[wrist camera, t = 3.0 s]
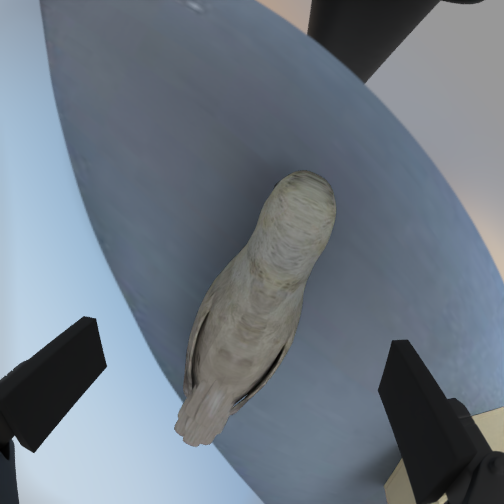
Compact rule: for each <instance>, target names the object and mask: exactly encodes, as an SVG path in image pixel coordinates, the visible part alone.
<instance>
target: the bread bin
mask: <svg viewBox="0 0 504 504" xmlns="http://www.w3.org/2000/svg"><path fill="white" fill-rule="evenodd" d="M472 418H473V419H474V421H475V424H477V426H478V427H479V429H480V431H481V432H482V434H483V436H484V437H485V439H486V441H487V442H488V444H489V446H490V447H491V449H492V450H493V451H501V452H504V407H501V408H498V409H495V410H492V411H488V412H485V413H481V414H478V415H474V416H472ZM384 488H385V493H386V498H387V503H388V504H416V501H415V498H414V494H413V491H412V487H411V484H410V481H409V478H408V475H407V471H406V468H405V465H404V462H403V459H401V460H400V462H399V463H398V465H397V467H396V468H395V470H394V471H393V473H392V474H391V476H390V477H389V479H388V480H387V482H386V483H385V485H384ZM444 495H446V493H444ZM444 495H443V496H444ZM431 504H432V503H431Z"/></svg>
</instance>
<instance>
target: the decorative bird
mask: <svg viewBox="0 0 504 504" xmlns="http://www.w3.org/2000/svg"><path fill="white" fill-rule="evenodd" d="M335 216H336V203H335V198H334V194H333V190H332V188H331V186H330V184H329V183H328V182H327V181H326V180H325V179H324V178H322V177H321V176H319V175H317V174H315V173H313V172H310V171H306V170H302V171H296V172H294V173H292V174H290V175H288V176H286V177H285V178H284V179H282V180H281V181H279V182H278V183H277V184H276V185H275V187H274V190H273V191H272V193H271V194H270V196H269V197H268V199H267V200H266V201H265V203H264V205H263V208H262V210H261V212H260V215H259V219H258V222H257V225H256V228H255V231H254V232H253V234H252V236H251V238H250V239H249V241H248V243H247V245H246V246H245V247H244V248H243V249H242V250H241V251H240V252H239V254H238V255H237V256H235V257H234V258H233V259H232V260H231V261H230V262H229V263H228V265H227V266H226V267H225V269H224V270H223V271H222V272H221V273H220V274H219V275H218V276H217V278H216V279H215V280H214V281H213V283H212V285H211V286H210V288H209V290H208V291H207V293H206V295H205V297H204V299H203V301H202V303H201V305H200V308H199V310H198V313H197V315H196V318H195V321H194V324H193V327H192V330H191V333H190V337H189V342H188V347H187V353H186V364H185V375H184V384H183V391H184V394H185V396H186V397H187V399H186V400H185V402H184V403H183V405H182V407H181V409H180V411H179V413H178V418H179V419H178V421H177V422H176V424H175V427H174V429H175V431H176V432H177V433H178V434H179V435H180V436H183V441H184V442H185V443H186V444H188V445H190V446H194V447H197V446H199V444H203V445H208V444H211V443H212V441H213V440H214V438H215V436H216V435H217V434H220V433H221V432H222V430H223V428H224V426H225V424H226V422H227V420H228V417H229V415H233V414H235V413H236V412H237V411H238V410H239V409H240V408H241V407H242V406H243V405H244V404H245V403H246V402H247V401H248V400H249V399H250V398H251V397H253V396H254V395H255V394H256V393H257V392H258V391H259V390H260V389H261V388H262V387H263V386H264V385H265V384H266V383H267V382H268V380H269V379H270V378H271V377H272V375H273V374H274V373H275V371H276V370H277V368H278V367H279V365H280V364H281V362H282V360H283V359H284V357H285V355H286V354H287V352H288V350H289V348H290V346H291V345H292V343H293V339H294V336H295V333H296V330H297V327H298V323H299V319H300V315H301V309H302V304H303V293H304V289H305V285H306V282H307V280H308V277H309V275H310V273H311V271H312V269H313V266H314V264H315V262H316V261H317V259H318V258H319V256H320V255H321V253H322V252H323V250H324V248H325V247H326V245H327V243H328V241H329V238H330V235H331V232H332V229H333V226H334V222H335ZM247 394H248V395H247ZM246 395H247V396H246ZM244 396H246V397H245V398H244V399H243V400H242V401H241V402H239V403H238V404H237V405H235V406H234V407H233V405H234V404H235V403H237V402H238V401H239V400H241V399H242V398H243V397H244Z"/></svg>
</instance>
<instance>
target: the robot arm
mask: <svg viewBox="0 0 504 504" xmlns="http://www.w3.org/2000/svg"><path fill="white" fill-rule="evenodd" d="M106 367H107V365H106V361H105V357H104V353H103V348H102V344H101V340H100V335H99V331H98V326H97V322H96V318H90V317H85V316H84V317H82V318H81V319H80V320H78V321H77V322H76V323H74V324H73V325H72V326H70V327H69V328H68V329H67V330H65V331H64V332H63V333H61V334H60V335H59V336H58V337H56V338H55V339H54V340H52V341H51V342H50V343H49V344H47V345H46V346H45V347H44V348H42V349H41V350H40V351H39V352H37V353H36V354H35V355H34V356H33V357H31V358H30V359H29V360H26V361H24V362H22V363H20V364H19V365H18V366H16V367H15V368H14V369H13V371H11V372H9V373H8V374H7V376H4V377H3V378H2V379H1V380H0V504H19V499H18V490H17V481H16V469H15V448H14V442H13V441H12V438H13V437H14V436H16V438H17V439H18V441H19V442H20V444H21V445H22V446H23V447H25V448H26V449H28V450H30V451H31V452H33V453H35V451H36V450H37V449H38V448H39V446H40V445H41V444H42V443H43V441H44V440H45V439H46V438H47V437H48V435H49V434H50V433H51V432H52V431H53V429H54V428H55V427H56V426H57V425H58V423H59V422H60V421H61V420H62V418H63V417H64V416H65V415H66V414H67V412H68V411H69V410H70V409H71V408H72V407H73V405H74V404H75V403H76V402H77V401H78V399H79V398H80V397H81V396H82V395H83V394H84V393H85V391H86V390H87V389H88V388H89V387H90V386H91V384H92V383H93V382H94V381H95V380H96V379H97V377H98V376H99V375H100V374H101V373H102V372H103V371H104V369H105V368H106ZM378 392H379V395H380V397H381V400H382V403H383V405H384V408H385V411H386V413H387V416H388V419H389V422H390V424H391V427H392V430H393V433H394V436H395V438H396V441H397V444H398V447H399V450H400V453H401V456H402V459H403V462H404V465H405V468H406V471H407V475H408V478H409V481H410V484H411V487H412V491H413V494H414V498H415V501H416V504H431V503H434V502H437V501H438V500H439V499H440V498H441V497H442V496H443V495H444V493H446V496H447V499H448V500H447V501H446V502H445V503H444V504H504V452H501V451H493V450H492V449H491V447H490V446H489V444H488V442H487V441H486V439H485V437H484V436H483V434H482V432H481V431H480V429H479V427H478V426H477V424H475V421H474V419H473V418H472V416H471V417H470V413H469V412H468V410H467V408H466V407H465V405H463V404H462V403H461V402H460V401H458V400H457V399H456V398H451V399H447V398H446V397H445V395H444V393H443V392H442V390H441V389H440V387H439V385H438V384H437V382H436V381H435V379H434V378H433V376H432V375H431V373H430V372H429V370H428V369H427V367H426V366H425V364H424V363H423V361H422V360H421V358H420V357H419V355H418V354H417V352H416V351H415V349H414V348H413V346H412V345H411V343H410V342H409V341H408V340H392V343H391V347H390V351H389V354H388V358H387V362H386V365H385V369H384V372H383V375H382V379H381V382H380V385H379V388H378Z"/></svg>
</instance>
